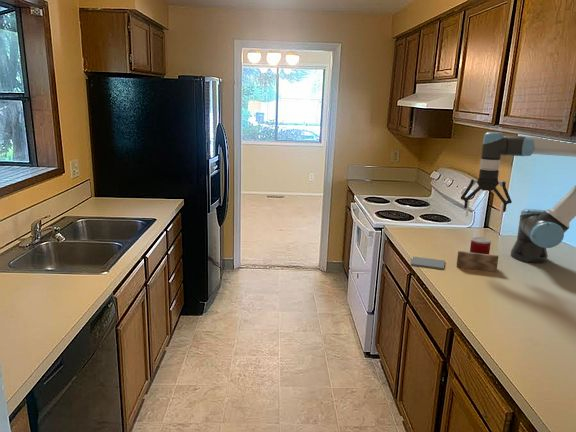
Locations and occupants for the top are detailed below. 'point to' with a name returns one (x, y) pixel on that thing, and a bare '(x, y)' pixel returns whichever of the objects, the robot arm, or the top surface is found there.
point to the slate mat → (428, 263)
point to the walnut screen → (477, 261)
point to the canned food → (480, 245)
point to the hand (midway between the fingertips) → (483, 217)
